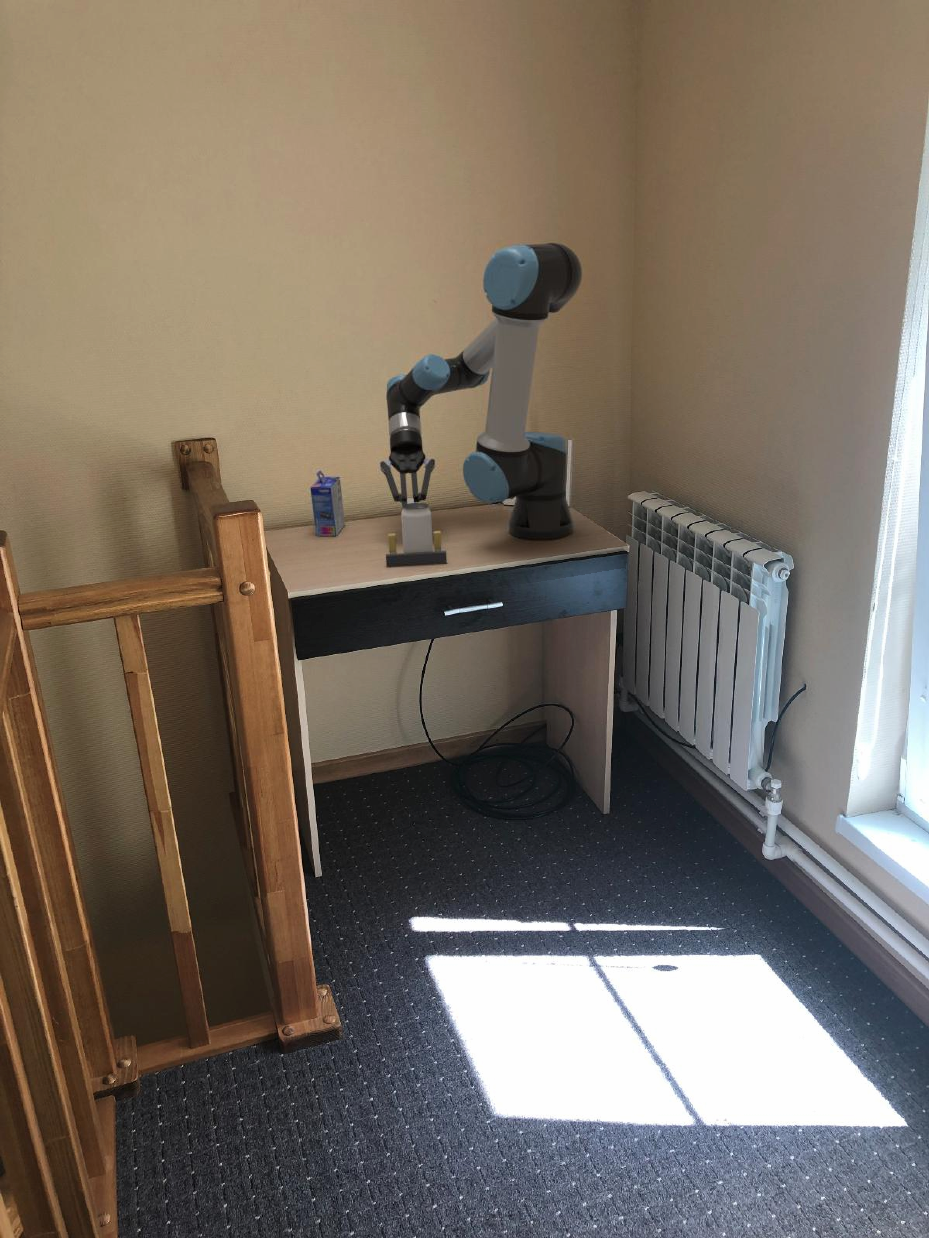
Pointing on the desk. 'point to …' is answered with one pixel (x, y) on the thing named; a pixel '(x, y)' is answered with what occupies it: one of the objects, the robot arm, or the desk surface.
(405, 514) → the can
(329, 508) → the ink cartridge box
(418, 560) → the u-shaped rail frame
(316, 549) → the desk surface
